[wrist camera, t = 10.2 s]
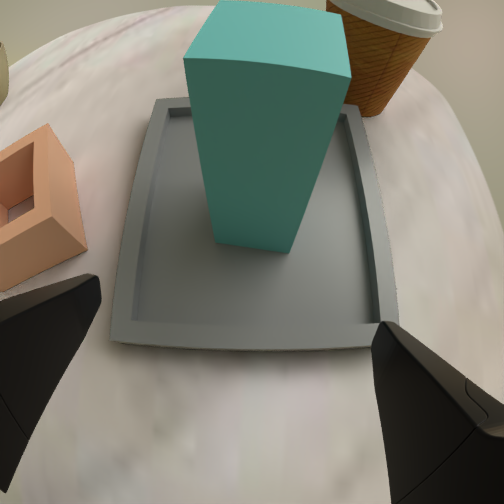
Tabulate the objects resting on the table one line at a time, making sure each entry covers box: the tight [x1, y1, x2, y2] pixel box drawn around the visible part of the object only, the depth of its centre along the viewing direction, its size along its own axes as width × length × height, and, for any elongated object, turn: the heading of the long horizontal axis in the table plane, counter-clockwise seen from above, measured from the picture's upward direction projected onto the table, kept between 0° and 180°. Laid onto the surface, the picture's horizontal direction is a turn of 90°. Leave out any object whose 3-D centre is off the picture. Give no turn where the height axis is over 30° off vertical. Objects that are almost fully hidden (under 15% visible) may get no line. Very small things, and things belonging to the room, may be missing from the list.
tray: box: [110, 97, 400, 351], centre depth 20 cm, size 18×16×2 cm
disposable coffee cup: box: [326, 0, 443, 117], centre depth 20 cm, size 10×10×12 cm
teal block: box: [183, 0, 351, 253], centre depth 14 cm, size 4×4×12 cm
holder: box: [0, 123, 88, 292], centre depth 18 cm, size 8×8×5 cm
